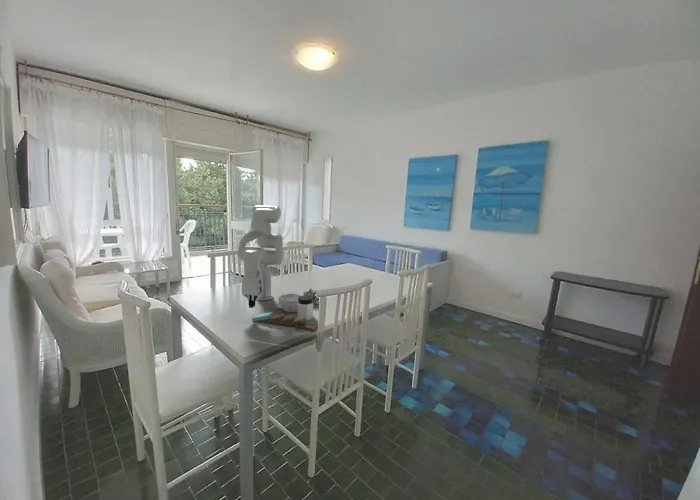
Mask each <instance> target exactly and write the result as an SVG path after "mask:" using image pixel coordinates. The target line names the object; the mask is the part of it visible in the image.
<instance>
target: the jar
mask: <svg viewBox="0 0 700 500" xmlns="http://www.w3.org/2000/svg"><path fill="white" fill-rule="evenodd" d="M301 295H302V296H299V297H298V311H297V312H296V313H297V317H296V318H299V317H305V319H306V320H305V321H307V322H308V321H309V320H313V319H314V306H313V297H312V296H309V295H304V294H301ZM305 321H304V322H305Z"/></svg>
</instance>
